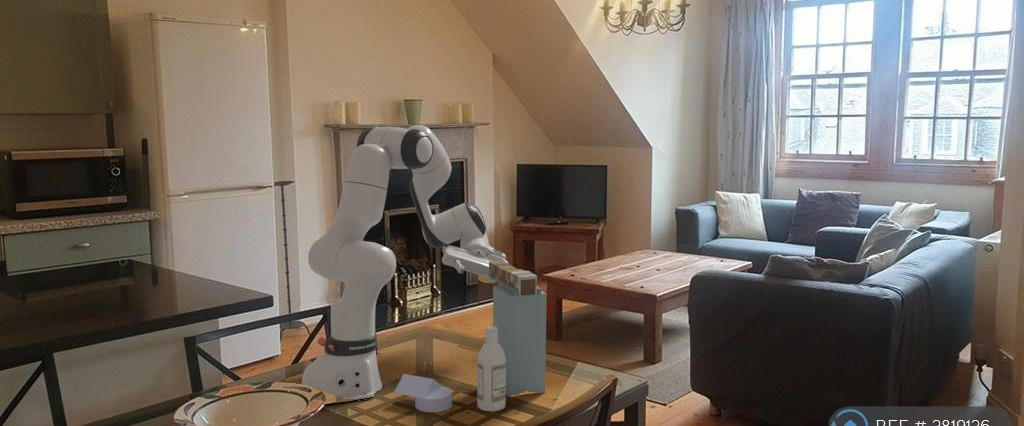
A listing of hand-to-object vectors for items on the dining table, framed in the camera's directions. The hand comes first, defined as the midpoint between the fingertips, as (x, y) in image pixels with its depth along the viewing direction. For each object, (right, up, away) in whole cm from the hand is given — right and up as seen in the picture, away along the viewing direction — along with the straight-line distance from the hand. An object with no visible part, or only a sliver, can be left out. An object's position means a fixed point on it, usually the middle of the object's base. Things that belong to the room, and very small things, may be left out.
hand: (477, 275), depth 222 cm
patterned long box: (+10, -1, -15) cm, 18 cm away
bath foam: (+5, -30, -30) cm, 43 cm away
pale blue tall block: (+12, -28, -17) cm, 35 cm away
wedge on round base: (-11, -30, -29) cm, 43 cm away
